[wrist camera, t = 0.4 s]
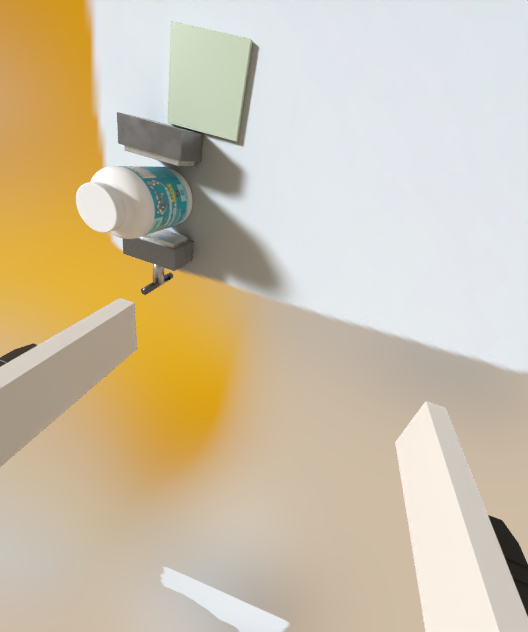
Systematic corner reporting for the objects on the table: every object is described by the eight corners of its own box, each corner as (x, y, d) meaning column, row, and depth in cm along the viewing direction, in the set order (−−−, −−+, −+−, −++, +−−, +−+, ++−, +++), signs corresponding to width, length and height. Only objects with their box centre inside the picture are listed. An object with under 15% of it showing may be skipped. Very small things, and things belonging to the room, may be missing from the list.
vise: (150, 119, 36) (110, 110, 30) (207, 135, 35) (177, 128, 29) (149, 270, 47) (120, 285, 41) (192, 285, 46) (168, 303, 40)
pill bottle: (189, 232, 40) (126, 258, 29) (145, 212, 41) (65, 230, 29) (200, 178, 36) (131, 185, 25) (150, 157, 37) (60, 153, 25)
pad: (174, 23, 30) (171, 21, 29) (252, 41, 28) (250, 39, 28) (170, 123, 34) (167, 122, 34) (237, 141, 33) (235, 141, 33)
